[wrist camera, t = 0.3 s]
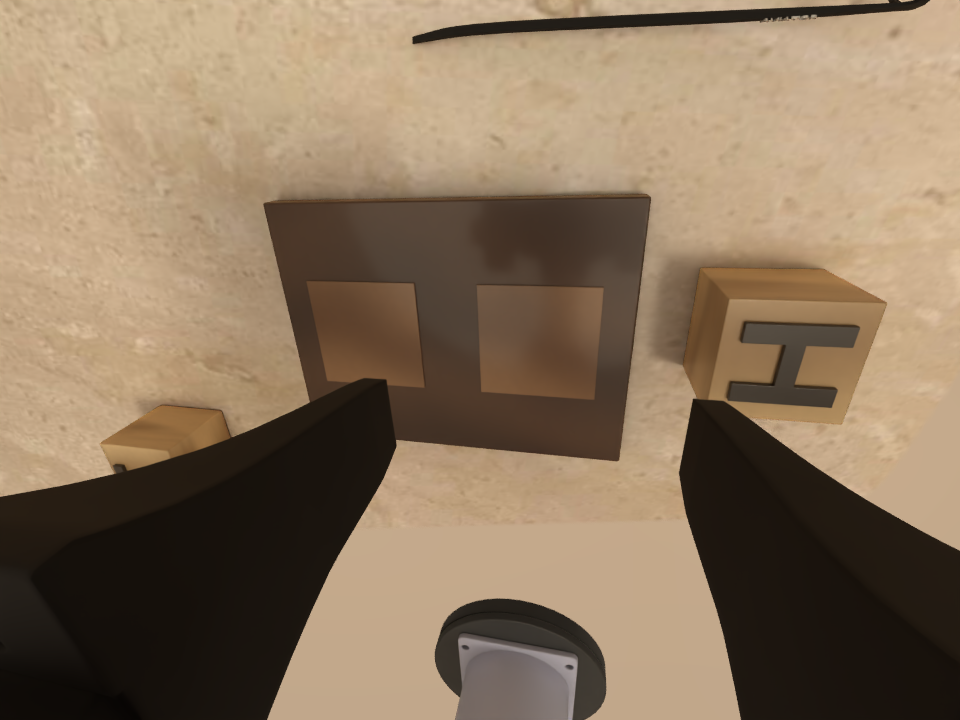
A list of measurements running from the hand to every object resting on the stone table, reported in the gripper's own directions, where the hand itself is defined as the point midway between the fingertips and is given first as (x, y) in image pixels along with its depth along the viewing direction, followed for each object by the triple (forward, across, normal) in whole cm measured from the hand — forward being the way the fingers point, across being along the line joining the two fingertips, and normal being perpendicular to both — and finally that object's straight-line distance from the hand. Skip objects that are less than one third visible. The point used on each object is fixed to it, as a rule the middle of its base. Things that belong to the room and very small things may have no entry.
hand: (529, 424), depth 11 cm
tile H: (+10, -8, +1) cm, 13 cm away
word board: (+10, +5, +2) cm, 11 cm away
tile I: (+10, +22, +10) cm, 26 cm away
